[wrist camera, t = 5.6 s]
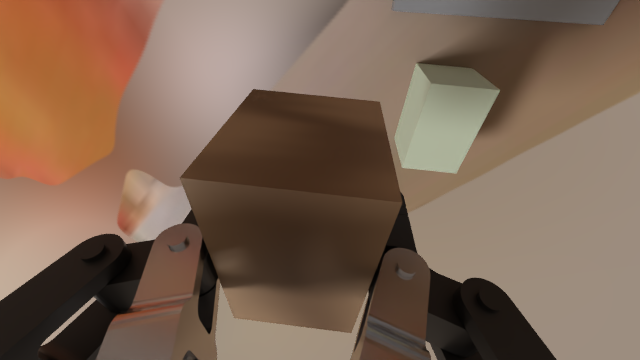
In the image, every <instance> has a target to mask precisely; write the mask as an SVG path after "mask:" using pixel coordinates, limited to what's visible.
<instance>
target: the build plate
mask: <svg viewBox="0 0 640 360" xmlns="http://www.w3.org/2000/svg"><path fill="white" fill-rule="evenodd" d="M619 1H620V0H393V4H392V10H393V11H401V12H416V13H431V14H446V15H461V16H475V17H490V18H505V19H520V20H535V21H550V22H564V23H579V24H594V25H604V23H605V22H606V20H607V19H608V17H609V16H610V14H611V13H612V11H613V10H614V8H615V7H616V5H617V4H618V2H619Z"/></svg>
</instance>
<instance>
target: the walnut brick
mask: <svg viewBox="0 0 640 360" xmlns="http://www.w3.org/2000/svg"><path fill="white" fill-rule="evenodd" d="M180 180H181V182H182V185H183V187H184V190H185V193H186V195H187V198H188V200H189V203H190V205H191V208H192V211H193V213H194V216H195V218H196V221H197V223H198V226H199V229H200V231H201V234H202V236H203V239H204V241H205V244H206V247H207V249H208V252H209V254H210V257H211V259H212V262H213V265H214V267H215V270H216V272H217V275H218V278H219V280H220V283H221V285H222V288H223V290H224V293H225V296H226V298H227V301H228V303H229V306H230V308H231V311H232V313H233V316H234V318H238V319H247V320H255V321H262V322H270V323H277V324H285V325H293V326H301V327H308V328H317V329H324V330H332V331H340V332H347V333H351V332H352V329H353V327H354V325H355V322H356V319H357V317H358V314H359V311H360V309H361V307H362V304H363V302H364V299H365V297H366V294H367V292H368V289H369V286H370V284H371V281H372V279H373V276H374V274H375V271H376V269H377V266H378V264H379V261H380V259H381V256H382V253H383V251H384V248H385V246H386V243H387V241H388V238H389V236H390V233H391V231H392V228H393V226H394V223H395V220H396V218H397V215H398V213H399V210H400V208H401V205H402V198H401V194H400V189H399V185H398V180H397V176H396V172H395V167H394V163H393V158H392V154H391V149H390V145H389V141H388V136H387V132H386V127H385V123H384V118H383V114H382V110H381V105H380V102H376V101H366V100H356V99H346V98H336V97H326V96H316V95H306V94H296V93H286V92H276V91H266V90H256V89H253V90H252V92H251V93H250V94H249V95H248V96H247V97H246V99H245V100H244V101H243V102H242V103H241V105H240V106H239V107H238V108H237V110H236V111H235V112H234V113H233V114H232V116H231V117H230V118H229V119H228V121H227V122H226V123H225V124H224V125H223V126H222V128H221V129H220V130H219V131H218V132H217V134H216V135H215V136H214V137H213V138H212V140H211V141H210V142H209V143H208V145H207V146H206V147H205V148H204V149H203V150H202V152H201V153H200V154H199V155H198V157H197V158H196V159H195V160H194V161H193V162H192V164H191V165H190V166H189V167H188V169H187V170H186V171H185V172H184V174H183V175H182V176H181V177H180Z"/></svg>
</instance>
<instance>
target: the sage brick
mask: <svg viewBox="0 0 640 360" xmlns="http://www.w3.org/2000/svg"><path fill="white" fill-rule="evenodd" d="M499 92H500V89H498V88H497V87H496V86H494V85H493V84H492V83H491V82H489V81H488V80H487V79H486V78H484V77H483V76H482V75H480V74H479V73H478V72H477V71H475V70H474V69H473V68H464V67H454V66H443V65H433V64H422V63H416V66H415V69H414V73H413V76H412V80H411V83H410V87H409V90H408V93H407V97H406V100H405V104H404V107H403V110H402V114H401V117H400V121H399V124H398V127H397V131H396V134H395V138H394V139H395V142H396V146H397V150H398V154H399V157H400V161H401V165H402V168H411V169H420V170H429V171H439V172H448V173H457V171H458V169H459V167H460V165H461V163H462V161H463V160H464V158H465V156H466V154H467V152H468V150H469V148H470V146H471V144H472V143H473V141H474V139H475V137H476V135H477V133H478V131H479V129H480V128H481V126H482V124H483V122H484V120H485V118H486V116H487V114H488V113H489V111H490V109H491V107H492V105H493V103H494V101H495V99H496V98H497V96H498V94H499Z"/></svg>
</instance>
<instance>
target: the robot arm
mask: <svg viewBox="0 0 640 360" xmlns="http://www.w3.org/2000/svg"><path fill="white" fill-rule="evenodd" d="M400 194H401V198H402V205H401V208H400V210H399V213H398V215H397V218H396V220H395V223H394V226H393V228H392V231H391V233H390V236H389V238H388V241H387V243H386V246H385V248H384V251H383V253H382V256H381V259H380V261H379V264H378V266H377V269H376V271H375V274H374V276H373V279H372V281H371V284H370V286H369V289H368V291H369V296H368V298H367V301H366V304H365V308H364V312H363V315H362V319H361V322H360V326H359V330H358V333H357V337H356V341H355V344H354V348H353V352H352V355H351V358H350V360H431V356H430V353H429V351H428V350H426V346H425V341H427V342H429V343H430V344H431V347H432V349H433V350H434V353H435V355H436V357H437V360H556V358H555V357H554V356H553V354H552V353H551V352H550V350H549V349H548V348H547V346H546V345H545V344H544V342H543V341H542V340H541V338H540V337H539V336H538V335H537V333H536V332H535V331H534V329H533V328H532V327H531V325H530V324H529V323H528V321H527V320H526V319H525V317H524V316H523V315H522V314H521V312H520V311H519V310H518V308H517V307H516V306H515V304H514V303H513V302H512V300H511V299H510V298H509V297H508V295H507V294H506V293H505V292H504V291H503V290H502V289H501V288H499V287H498V286H496V285H495V284H493V283H492V282H490V281H487V280H485V279H481V278H470V279H467V280H465V281H464V282H463V283H460V282H457V281H455V280H452V279H450V278H447V277H445V276H443V275H440V274H438V273H436V272H435V271H433V270H431V269H430V268H429V267H428V265H427V263H426V262H425V260H424V259H423V258H422V257H421V256H420V255H418V253H417V251H416V247H415V243H414V239H413V234H412V230H411V226H410V221H409V217H408V213H407V209H406V204H405V200H404V196H403V195H402V193H401V192H400ZM219 288H220V280H219V278H218V275H217V272H216V270H215V267H214V265H213V262H212V259H211V257H210V254H209V252H208V249H207V247H206V244H205V241H204V239H203V236H202V234H201V231H200V229H199V226H198V223H197V221H196V218H195V216H194V213H193V211H192V209H191V211H190V212H189V214H188V215H187V217H186V218H185V220H184V221H183V223H182V224H178V225H174V226H172V227H170V228H168V229H166V230H164V231H163V232H162V233H161V234H159V236H158V237H157V238H156V239H155V240H150V241H144V242H137V243H131V244H125V242H124V241H123V239H122V238H121V237H120V236H118V235H115V234H103V235H99V236H95V237H92V238H90V239H88V240H86V241H84V242H82V243H81V244H79V245H78V246H76V247H75V248H73V249H72V250H71V251H69V252H68V253H67V254H65V255H64V256H62V257H61V258H60V259H58V260H57V261H55V262H54V263H52V264H51V265H50V266H48V267H47V268H46V269H44V270H43V271H42V272H40V273H39V274H37V275H36V276H34V277H33V278H32V279H30V280H29V281H28V282H26V283H25V284H24V285H22V286H21V287H19V288H18V289H17V290H15V291H14V292H12V293H11V294H9V295H8V296H7V297H5V298H4V299H2V300H1V301H0V360H217V348H216V341H215V333H216V321H217V311H218V300H219ZM92 297H94V298H96V299H97V300H96V301H95V302H93V303H92V304H91V305H90V306H89V307H88V308H87V309H86V310H85V311H84V312H82V313H81V314H80V315H79V316H78V317H77V318H76V319H75V320H74V321H73V322H72V323H70V324H69V325H68V326H67V327H66V328H65V329H64V330H63V331H62V332H61V333H59V335H57V336H56V337H55V338H54V339H53V340H51V341H50V342H49V343H47V344H45V345H43V346H41V344H42V343H43V342H44V341H45V340H46V339H47V338H48V337H49V336H50V335H51V334H52V333H53V332H54V331H56V330H57V329H58V328H59V327H60V326H61V325H62V324H63V323H64V322H66V321H67V320H68V319H69V318H70V317H71V316H72V315H73V314H75V313H76V312H77V311H78V310H79V309H80V308H81V307H82V306H83V305H85V303H87V302H88V301H89V300H90V299H91V298H92Z"/></svg>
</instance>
